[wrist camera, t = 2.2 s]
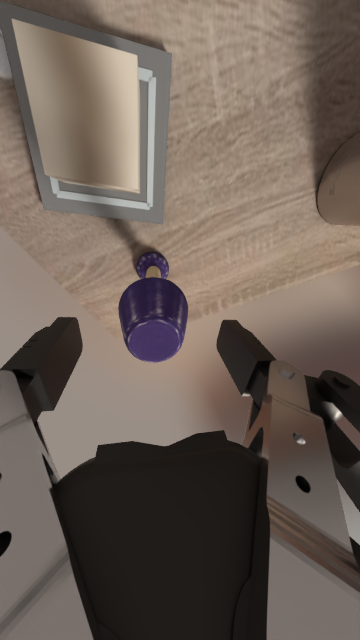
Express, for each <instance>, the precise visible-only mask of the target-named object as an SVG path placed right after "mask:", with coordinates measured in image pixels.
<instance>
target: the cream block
mask: <svg viewBox="0 0 360 640" xmlns="http://www.w3.org/2000/svg"><path fill="white" fill-rule="evenodd" d="M11 19H12V18H11ZM12 24H13V28H14V33H15V38H16V42H17V47H18V51H19V56H20V61H21V65H22V70H23V75H24V79H25V84H26V89H27V93H28V98H29V103H30V107H31V112H32V117H33V121H34V126H35V131H36V135H37V140H38V145H39V149H40V154H41V159H42V163H43V168H44V173H45V175H47V176H50V177H52V178H55V179H57V180H60V181H62V182H65V183H70V184H77V185H83V186H90V187H97V188H103V189H110V190H117V191H123V192H130V193H137V194H140V86H139V73H138V60H137V55H135V54H131V53H128V52H124V51H121V50H117V49H114V48H111V47H107V46H104V45H100V44H97V43H94V42H90V41H87V40H83V39H80V38H77V37H73V36H70V35H66V34H63V33H59V32H56V31H53V30H49V29H46V28H42V27H39V26H36V25H32V24H29V23H25V22H22V21H19V20H15V19H12Z"/></svg>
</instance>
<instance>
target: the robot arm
mask: <svg viewBox="0 0 360 640" xmlns="http://www.w3.org/2000/svg"><path fill="white" fill-rule="evenodd" d="M318 209H319V213H320V215H321V217H322V218H323V219H324V220H325V221H326V222H328V223H330V224H335V225H353V226H360V132H359V133H358V134H356V135H354V136H353V137H351V138H350V139H349V140H348V141H347V142H346V143H344V144H343V145H342V146H341V147H340V149H339V150H338V151H337V152H336V153H335V155H334V156H333V158H332V159H331V161H330V162H329V164H328V166H327V168H326V170H325V172H324V174H323V176H322V179H321V182H320V185H319V190H318ZM82 346H83V345H82V338H81V333H80V328H79V324H78V320H77V318H75V317H58V318H57V319H56V320H55V321H54V322H53V324H52V325H51V326H50V327H45V328H43V329H41V330H40V331H38V332H36V333H35V334H34V335H33V336H32V337H31V338H30V339H29V340H28V342H26V343H25V344H24V345H23V347H22V348H20V349H19V351H17V353H15V354H14V355H13V357H12V358H11V359H10V360H9V361H8V362H7V363H6V364H5V365H4V366H3V367H2V368H1V369H0V640H360V545H359V544H358V543H357V542H355V541H354V540H353V539H352V538H351V537H350V536H349V534H348V530H347V525H346V521H345V516H344V511H343V507H342V503H341V498H340V494H339V489H338V485H337V480H336V478H337V479H338V481H339V482H340V484H341V485H342V487H343V488H344V490H345V491H346V493H347V494H348V495H349V497H350V498H351V500H352V501H353V503H354V504H355V506H356V507H357V509H358V510H359V512H360V451H359V450H358V449H357V448H356V446H355V445H354V444H353V443H352V442H351V441H350V440H349V438H348V437H347V436H346V435H345V434H344V433H343V431H342V430H341V429H340V428H339V427H338V426H337V424H336V422H337V421H338V420H339V419H340V418H341V417H342V416H343V415H344V416H345V417H346V418H347V419H348V421H349V422H350V423H352V425H353V426H354V427H355V428H356V429H357V430H358V431H359V432H360V386H359V385H358V384H356V383H355V382H354V381H353V380H351V379H350V378H348V377H346V376H345V375H343V374H340V373H338V372H335V371H331V370H325V371H323V372H322V373H321V375H320V376H319V377H318V378H315V377H311V376H306V375H303V373H302V372H301V371H300V370H299V369H298V368H296V367H295V366H294V365H292V364H290V363H287V362H285V361H280V360H276V359H275V358H274V357H273V355H272V354H271V353H270V352H269V351H268V350H267V349H266V348H265V347H264V346H263V345H262V344H261V342H260V341H259V340H257V338H256V337H255V336H254V335H253V334H252V333H251V332H250V331H248V330H247V329H245V328H243V327H242V326H241V324H240V323H239V322H238V321H237V320H223V321H222V323H221V327H220V331H219V335H218V338H217V350H218V352H219V354H220V356H221V358H222V360H223V361H224V363H225V365H226V367H227V369H228V371H229V373H230V375H231V377H232V378H233V380H234V382H235V384H236V386H237V388H238V390H239V392H240V393H241V395H242V396H252V398H253V400H252V402H251V406H250V411H249V417H248V422H247V428H246V434H245V438H244V441H243V444H242V445H240V444H238V443H235V442H232V441H228V440H227V437H226V435H225V432H224V430H222V431H214V432H206V433H197V434H194V435H192V436H190V437H187V438H185V439H183V440H181V441H178V442H176V443H174V444H172V445H169V446H158V445H152V444H146V443H140V442H134V441H130V442H121V443H114V444H105V445H98V448H97V452H96V457H94V458H92V459H89V460H88V461H86V462H84V463H82V464H81V465H79V466H77V467H76V468H74V469H73V470H72V471H70V472H69V473H68V474H67V475H65V476H64V477H63V478H62V479H60V477H59V474H58V472H57V470H56V468H55V465H54V463H53V460H52V458H51V455H50V452H49V449H48V447H47V444H46V441H45V439H44V436H43V433H42V430H41V427H40V425H39V422H38V421H37V419H38V417H39V415H40V414H41V412H42V411H53V410H54V409H55V407H56V405H57V403H58V400H59V398H60V396H61V394H62V392H63V390H64V388H65V386H66V384H67V382H68V380H69V378H70V375H71V374H72V372H73V369H74V367H75V365H76V363H77V361H78V359H79V357H80V355H81V352H82Z"/></svg>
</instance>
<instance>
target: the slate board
mask: <svg viewBox="0 0 360 640" xmlns="http://www.w3.org/2000/svg"><path fill="white" fill-rule="evenodd" d="M11 18H12V19H15V20H19V21H22V22H25V23H29V24H32V25H36V26H39V27H42V28H46V29H49V30H53V31H56V32H59V33H63V34H66V35H70V36H73V37H77V38H80V39H83V40H87V41H90V42H94V43H97V44H100V45H104V46H107V47H111V48H114V49H117V50H121V51H124V52H128V53H131V54H135V55H137V60H138V73H139V86H140V194H137V193H130V192H123V191H117V190H110V189H103V188H97V187H90V186H83V185H77V184H70V183H65V182H62V181H60V180H57V179H55V178H52V177H50V176H47V175H45V173H44V168H43V163H42V159H41V154H40V149H39V145H38V140H37V135H36V131H35V126H34V121H33V117H32V112H31V107H30V103H29V98H28V93H27V89H26V84H25V79H24V75H23V70H22V65H21V61H20V56H19V51H18V47H17V42H16V38H15V33H14V28H13V24H12V19H11ZM0 25H1V29H2V33H3V38H4V42H5V46H6V50H7V55H8V59H9V63H10V67H11V72H12V76H13V80H14V84H15V89H16V93H17V97H18V101H19V106H20V110H21V114H22V118H23V123H24V127H25V131H26V135H27V140H28V144H29V148H30V152H31V157H32V161H33V165H34V169H35V174H36V178H37V182H38V186H39V191H40V195H41V199H42V203H43V208H44V210H50V211H58V212H66V213H75V214H83V215H91V216H99V217H108V218H116V219H124V220H132V221H140V222H149V223H157V224H163V211H164V192H165V174H166V155H167V137H168V118H169V100H170V82H171V63H172V53H169V52H165V51H162V50H159V49H156V48H152V47H149V46H146V45H143V44H139V43H136V42H133V41H130V40H126V39H123V38H120V37H116V36H113V35H110V34H107V33H103V32H100V31H97V30H94V29H90V28H87V27H84V26H81V25H77V24H74V23H71V22H67V21H64V20H61V19H58V18H54V17H51V16H48V15H45V14H41V13H38V12H35V11H31V10H28V9H25V8H22V7H18V6H15V5H12V4H9V3H5V2H2V1H0Z"/></svg>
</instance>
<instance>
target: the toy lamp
mask: <svg viewBox="0 0 360 640" xmlns="http://www.w3.org/2000/svg"><path fill="white" fill-rule="evenodd" d="M136 267H137V268H136V269H137V273H138V276H139V277H140V280H138V281H135V282H134V283H132V284H131V285H130V286H128V288H127V289H126V290H125V291H124V292H123V294H122V296H121V299H120V302H119V318H120V323H121V328H122V332H123V337H124V341H125V344H126V346H127V348H128V350H129V351H130V352H131V354H132V355H133V356H135V357H136V358H138V359H140V360H142V361H146V362H161V361H164V360H167V359H169V358H171V357H172V356H174V355H175V354H176V353H177V352H178V351H179V349H180V348H181V346H182V343H183V340H184V335H185V330H186V324H187V317H188V305H187V300H186V298H185V296H184V294H183V292H182V291H181V289H180V288H179V287H178V286H176V285H175V284H174V283H173V282H171V281H169V280H166V278H167V276H168V273H169V266H168V262H167V260H166V259H165V258H164V257H163V256H162V255H161V254H159V253H156V252H148V253H145V254H143V255H142V256H141V257H140V258H139V259H138V262H137V266H136Z"/></svg>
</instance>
